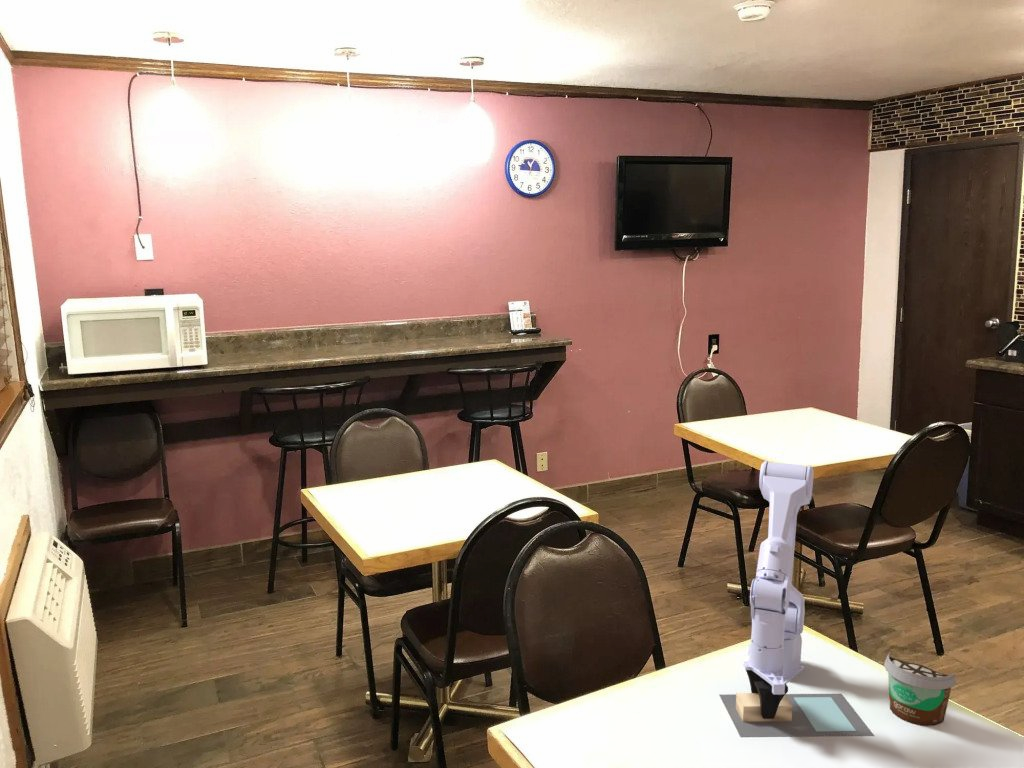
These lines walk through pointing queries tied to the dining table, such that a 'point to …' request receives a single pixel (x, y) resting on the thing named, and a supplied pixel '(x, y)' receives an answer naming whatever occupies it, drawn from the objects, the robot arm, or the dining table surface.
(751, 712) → the tan wooden block
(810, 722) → the mat
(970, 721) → the dining table surface
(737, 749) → the dining table surface
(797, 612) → the robot arm
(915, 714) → the food container
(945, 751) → the dining table surface
